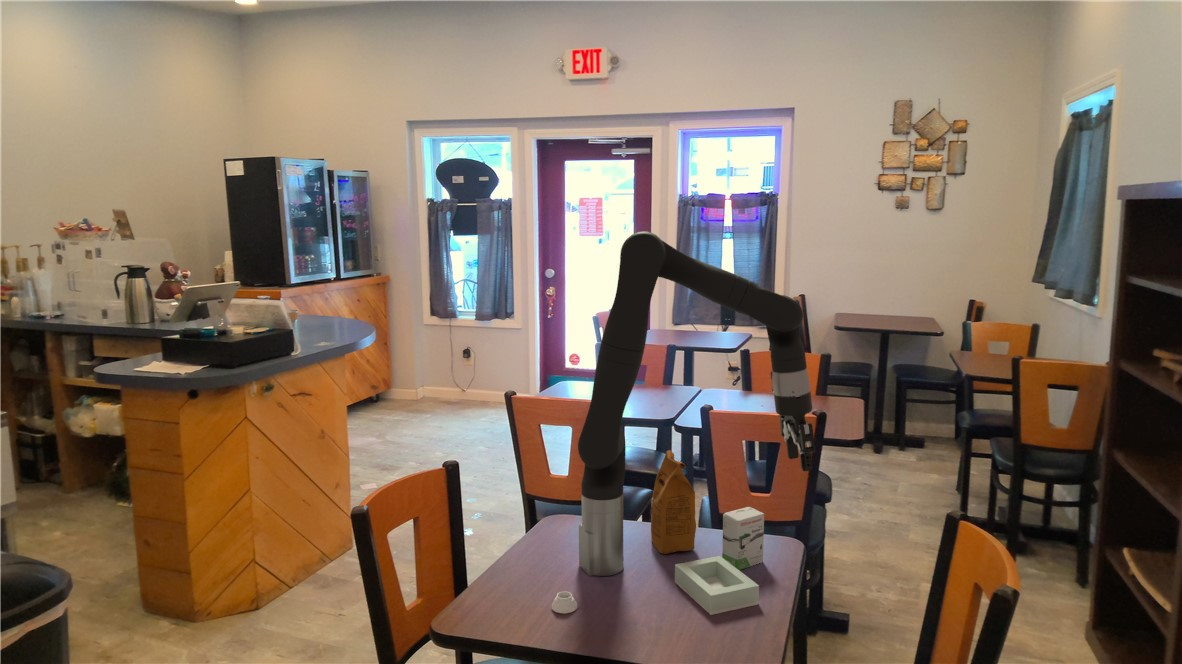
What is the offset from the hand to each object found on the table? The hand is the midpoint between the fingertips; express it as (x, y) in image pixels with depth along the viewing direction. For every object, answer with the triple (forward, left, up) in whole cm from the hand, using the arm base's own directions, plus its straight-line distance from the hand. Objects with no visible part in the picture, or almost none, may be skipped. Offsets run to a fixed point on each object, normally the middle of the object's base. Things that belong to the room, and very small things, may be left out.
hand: (800, 464), depth 162 cm
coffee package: (-18, +25, -25) cm, 39 cm away
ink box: (-8, +10, -25) cm, 28 cm away
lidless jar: (-52, +6, -25) cm, 58 cm away
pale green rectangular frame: (-21, 0, -25) cm, 32 cm away
